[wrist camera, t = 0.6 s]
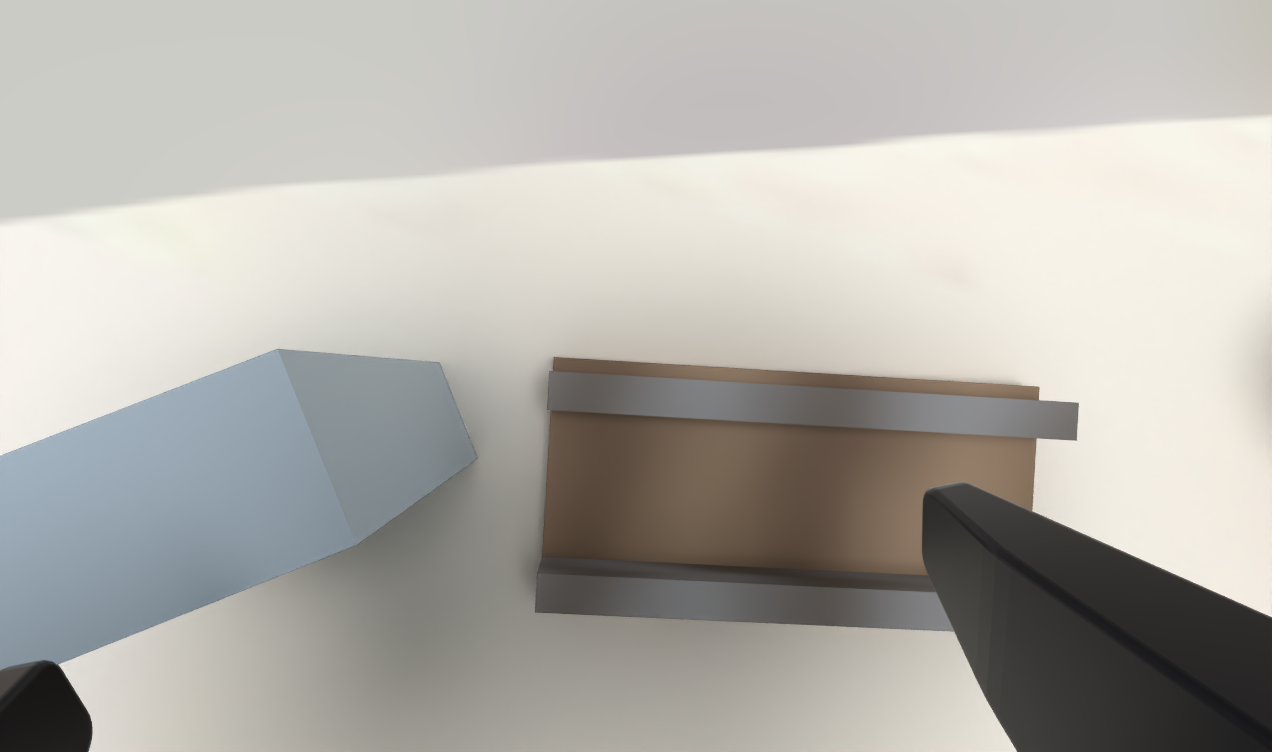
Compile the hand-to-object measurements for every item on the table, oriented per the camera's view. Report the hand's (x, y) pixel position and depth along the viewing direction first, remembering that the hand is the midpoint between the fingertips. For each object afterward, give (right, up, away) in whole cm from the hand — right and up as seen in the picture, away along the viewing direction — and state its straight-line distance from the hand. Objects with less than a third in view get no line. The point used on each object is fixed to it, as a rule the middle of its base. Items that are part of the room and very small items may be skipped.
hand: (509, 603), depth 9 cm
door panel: (-7, 0, +16) cm, 17 cm away
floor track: (+6, -1, +16) cm, 17 cm away
